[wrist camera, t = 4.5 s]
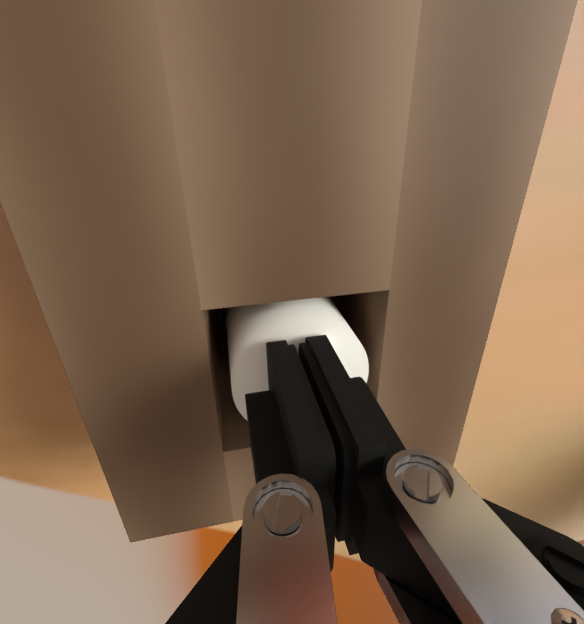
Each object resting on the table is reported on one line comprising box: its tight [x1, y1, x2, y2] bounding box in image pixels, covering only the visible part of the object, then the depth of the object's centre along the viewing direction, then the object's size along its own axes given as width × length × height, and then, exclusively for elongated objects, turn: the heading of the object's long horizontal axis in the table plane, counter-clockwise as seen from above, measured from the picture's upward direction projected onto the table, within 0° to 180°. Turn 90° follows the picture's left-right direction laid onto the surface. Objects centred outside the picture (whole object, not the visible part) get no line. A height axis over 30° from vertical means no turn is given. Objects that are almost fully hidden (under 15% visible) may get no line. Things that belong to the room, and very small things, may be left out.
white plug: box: [224, 297, 369, 420], centre depth 13 cm, size 4×4×6 cm
